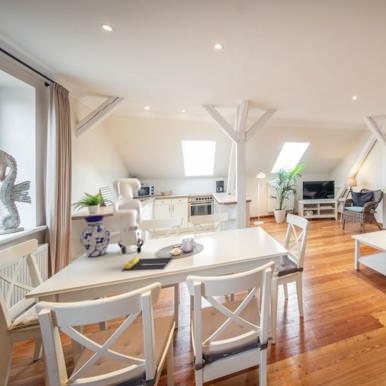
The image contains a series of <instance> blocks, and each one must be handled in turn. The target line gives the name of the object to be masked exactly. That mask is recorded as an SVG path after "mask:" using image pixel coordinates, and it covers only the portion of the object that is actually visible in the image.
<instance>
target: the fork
mask: <svg viewBox="0 0 386 386" xmlns="http://www.w3.org/2000/svg"><path fill="white" fill-rule="evenodd" d="M165 264H166V263H164V264H142V265H141V266H148V265H165Z"/></svg>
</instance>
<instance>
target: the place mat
mask: <svg viewBox="0 0 386 386" xmlns="http://www.w3.org/2000/svg"><path fill="white" fill-rule="evenodd" d="M172 259H173V257H158V258H157V257H156V258H155V257H153V258H139V261H138V262H137V263H136V264H135V265H134V266H132V267H131V268H130V269H126V268H125V267H124V268H123V269H121V272H129V271H130V272H131V271H153V270H163V269H165V267H166V266H167V265H169V263H170V262H171V261H172ZM164 263H166V264H165V265H148V266H141V265H142V264H164Z"/></svg>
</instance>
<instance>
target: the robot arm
mask: <svg viewBox="0 0 386 386" xmlns="http://www.w3.org/2000/svg"><path fill="white" fill-rule="evenodd" d="M111 184H112V187H113V189H114V191H115V193H116V196H117V199H116V200H115V202H113V205H112V217H113V219H114V221H116V222H117V226H118V236H119V240H118V241H116V243H117V245H118V247H119V250H118V251H117V253H118V254H120V255H125V254H131V253H134V252H136V253H137V254H140V253H141V252H142V247H143V246H144V243H146V242H145V239H142V238H141V235H140V231H139V226H137V225H139V224H141V223H142V222H143V209H142V208H143V207H142V202H141V200H140V199H137V198H134V194H133V192H139V191H140V190H141V182H140V179H138V177H137V178H136V177H120V178H114V179H113V180H112V183H111ZM135 246H136V247H135Z"/></svg>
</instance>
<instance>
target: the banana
mask: <svg viewBox="0 0 386 386" xmlns="http://www.w3.org/2000/svg"><path fill="white" fill-rule="evenodd" d="M139 259H140V257H137V256H135V257H133V258H132V259H130V260H129V261H127V262H126V263H125V264H124V268H126V269H130V268H131V267H132V266H134V265H135V264H136V263H137V262H138V261H139Z"/></svg>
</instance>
